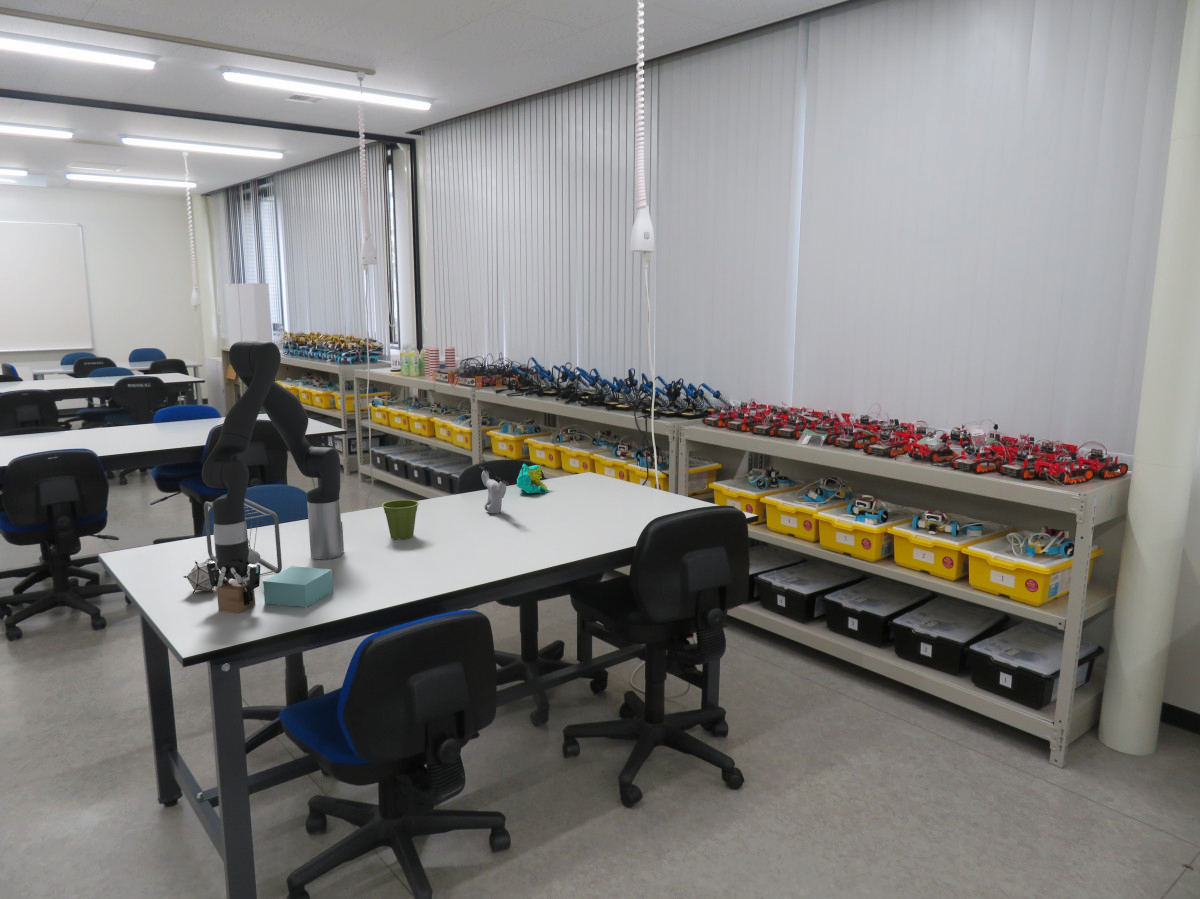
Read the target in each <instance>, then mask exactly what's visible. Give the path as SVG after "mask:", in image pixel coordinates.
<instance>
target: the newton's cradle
mask: <svg viewBox="0 0 1200 899" xmlns="http://www.w3.org/2000/svg"><path fill="white" fill-rule="evenodd" d="M213 502H214V501H205V502H204V503H203V511H204V512H203V515H204V521H205V523H204V525H205V534H206V546H207V554H208V557H209V559H211V560H212V561H213V560H214V561H217V562H218V560H217V559H216V555H214V554H213V547H212V538H211V526H210V513H209V508H211V509H213ZM246 508H247V510H246V512H247V514H245V516H246V517H245V522H246V526H247V524H248V520H251V521H253V519H256V518H257V522H256V524H258V521H259V518H261V517H267V516H272V517H273V521H274V523H273V524H274V525H273V526H274V536H275V550H276V560H277V561H276V562H277V567H276V566H275V565H273V564H272V563H270V562H268V561H266V560H265V559H263V558H261V554H260V553H259V552H258V551H255V546H256V543H253V544H254V546H253V548H252V547H251V540H250V539H248V547H249V555H248V561H249V563H250V564H251V565H257V564H259V563H260V562H261V563H260V564H262V565H264V566H265V565H266V567H267V568H268V569H270V568H271V569H270V570H272V571H267V572H263V573H260V576H263V575H268V574H271V573H277V572H279V573H280V572H281V571H283V570H282V569H283V560H282V548H281V547H282V546H281V539H280V538H281V537H280V536H281V535H280V523H279V516H278V515H277V514H278V513H276V512H275V511H273V510H270V509H269V508H266V507H264V506H262V505H260V504H258V503H256V502H254V501H252V500H249V499H247V498H245V501H244V509H246ZM249 509H251V510H252V512H250V513H249V511H250V510H249ZM254 511H255V512H254ZM253 512H254V513H253ZM256 513H257V515H256V516H254V514H256ZM249 514H250V515H251V514H252V515H251V516H250V517H248V515H249ZM259 514H261V515H259ZM252 527H253V522H251V524H250V529H253V528H252ZM257 531H258V526H256V528H255V533H258V532H257ZM251 535H252V531H250V533H249V538H251ZM254 538H255V539H254V542H256V539H257V535H255V537H254ZM244 578H245V577H242V579H244Z"/></svg>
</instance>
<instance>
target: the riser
mask: <svg viewBox="0 0 1200 899" xmlns="http://www.w3.org/2000/svg"><path fill="white" fill-rule="evenodd" d="M333 582H334V581H333V569H329V568H315V567H305V566H296V565H295V566H294V565H291V566H290V567H287V568H285V569H283V570H281V572H279V573H276V574H273V575H272V576H270V577H267V578H266V579H264V580H262V586H263V597H264V598H263V599H264V604H265V603H266V604H265V605H274V604H276V606H284V605H288V606H287V607H294V606H299V607H298V608H304V607H307V608H309V607H310V606H312V605H313V604H315V603H316V601H317V602H318V601H320V600H322V599H323V598H324V596H325V597H326V596H328V595H330V594H331V593H333V592H334V585H333ZM329 593H330V594H329ZM322 597H323V598H322ZM319 599H320V600H319ZM311 604H312V605H311ZM309 605H310V606H309ZM308 606H309V607H308Z"/></svg>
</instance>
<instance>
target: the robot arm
mask: <svg viewBox="0 0 1200 899" xmlns="http://www.w3.org/2000/svg"><path fill="white" fill-rule="evenodd" d="M228 359H229V362H230V366H231V368H232V369H233V371H234V373H235V374H236V375H237V376H238V378H239V379H240V380H241V381H242V383H243V384H244V385H245V386H246V387H247V389H246V391H244V393H243V394H242V395H241V396H240V397H239V398H238V400H237V401H236V402H235V403H234V404H233V406H231V407H230V409H229V411H228V412H227V414H226V416H225V418H224V421H223V424H222V427H221V431H220V435H219V438H218V440H217V442H216V444H215V445H214V447H213V449H212V450H211V452H210V453H209V455H208V457H207V458H206V459H205V461H204V463H203V466H202V470H201V478H202V482H203V483H204V484H205V486H207V487H208V488H211V489H226V490H227V493H226V496H222V497H218V498H216V499H214V501H212V502H213V503H212V504H213V508H212V517H213V542H214V550H215V556H216V559H217V560H218V562H217V561H213V560H212V561H210V562H208V564H207V569H208V574H209V579H210V583H211V586H214V587H216V589H217V588H218V587H220V586H222V585H224V584H226V583H228V582H230V581H231V579H232V580H237V582H238V584H240V585H241V587H242V588H243V591H244V592H243V597H244V605H245V606H248V605H250V604H251V603H252V602H253V589H254V590H255V589H257V588H259V587H260V582H261V581H260V580H261V575H260V574H261V565H260V564H259V563H257V564H250V563H249V561H248V555H249V548H250V546H249V543H248V540H249V538H248V537H249V535H248V527H247V526H246V520H245V518H246V515H245V513H246V511H245V505H244V504H245V502H244V501H245V499H246V494H247V489H248V486H249V480H250V472H249V471H250V470H249V467H248V466H247V464H246V463H245V462H244V461H242V460H239V459H233V457H235V456H238V455H241V454H245V453H247V452H248V450H249V448H250V444H251V441H252V437H253V433H254V430H255V426H256V421H257V420H258V416H259V414H260V411H261V409H263V411H264V412H265V413H266V415H267V416H268V419H269V421H270V422H271V423H272V425H273V427H274V428H275V430H277V432H278V433H279V435H280V437H281V438H282V440H283V441H284V443H285V445H286V446H287V448H288V450H289V452H290V454H291V456H292V459H293V461H294V462H295V465H296V467H297V469H298V470H299V472H300V473H301V474H302V475H303V476H304V477H306V478H311V479H312V478H313V479H315V478H316V479H321V484H320V486H318V487H315V488H312V489H310V490H308V491H307V492H306V503H307V504H306V505H307V518H308V533H309V547H310V548H309V549H310V558H312V559H315V560H331V559H334V558H339V557H340V556H342V555H343V554H344V553H343V552H344V551H345V549H344V547H345V546H344V530H343V529H344V528H343V527H344V526H343V522H342V518H341V517H342V516H341V503H340V502H341V501H340V493H341V492H340V491H341V458H340V453H339V452H338V450H337V449H336V448H334V447H327V446H324V447H323V446H313V445H311V444H310V443H309V441H308V439H307V438H306V435H307V434H306V433H307V431H308V430H307V429H308V427H309V415H308V413H307V411H306V410H305V408H304V405H303V404H302V403H301V401H300V400H299V398H298V397H297V396H296V395H295V393H293V392H291V391H290V390H288V389H287V388H286V387H284V386H283V385H281V384H279V383H278V382H277V381H275V380H276V377H277V375H278V372H279V370H280V366H281V362H282V357H281V352H280V349H279V346H277V344H276V343H274V342H272V341H269V340H240V341H237V342H234V343H233V344H232V345H231V347H230V348H229V351H228ZM242 577H245V578H244V579H242ZM215 579H216V580H215ZM245 582H246V583H245ZM246 584H247V585H248V586H247V585H246Z"/></svg>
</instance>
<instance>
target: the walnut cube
mask: <svg viewBox="0 0 1200 899" xmlns="http://www.w3.org/2000/svg"><path fill="white" fill-rule="evenodd" d="M245 583H246V582H245ZM246 585H247V584H246ZM247 586H248V585H247ZM243 592H244V591H243V588H242V587H241V585H240V584H238V582H237V580H234V579H232V580H229V582H228V583H226V584H224V585H222V586H220V587H218V588H217V587H216V596H217V606H218V612H225V613H232V612H233V613H235V614H241V613H243V612H244V610H245V611H247V610H249V609H250V608H252V607H253V605H254V606H255V605H256V597H255V589H253V602H252V603H251V604H250V605H248V606H245V605H244V597H243ZM251 606H252V607H251ZM242 611H243V612H242ZM233 613H232V614H233Z"/></svg>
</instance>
